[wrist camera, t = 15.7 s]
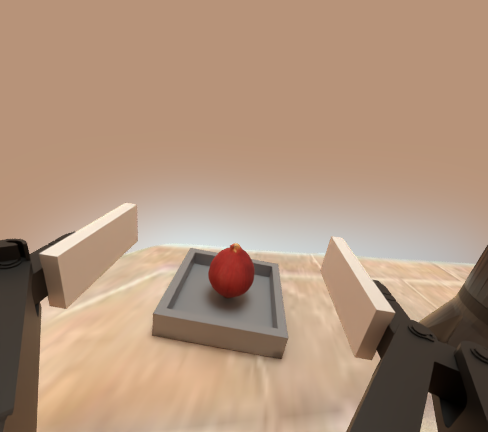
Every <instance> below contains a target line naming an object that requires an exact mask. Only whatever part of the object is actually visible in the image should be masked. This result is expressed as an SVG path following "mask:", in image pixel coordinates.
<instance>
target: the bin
mask: <svg viewBox="0 0 488 432" xmlns="http://www.w3.org/2000/svg"><path fill="white" fill-rule="evenodd" d="M217 254H218V253H215V252H210V251H204V250H199V249H193V248H190V250H189V252H188V253H187V255H186V257H185V259H184V260H183V262H182V264H181V266H180V267H179V269H178V271H177V273H176V274H175V276H174V278H173V280H172V281H171V283H170V285H169V287H168V288H167V290H166V292H165V294H164V295H163V297H162V299H161V301H160V303H159V304H158V306H157V308H156V310H155V311H154V313H153V330H152V335H153V336H159V337H164V338H170V339H175V340H181V341H186V342H192V343H197V344H203V345H208V346H214V347H219V348H225V349H230V350H236V351H241V352H247V353H252V354H258V355H263V356H269V357H274V358H280V359H282V356H283V353H284V349H285V346H286V343H287V340H288V333H287V326H286V319H285V311H284V304H283V297H282V290H281V282H280V275H279V268H278V264H275V263H269V262H264V261H258V260H253V259H251V260H252V262H253V264H254V269H255V270H254V281H253V283H252V285H251V287H250V288H249V290H248V291H247V292H245V293H244V294H242V295H240V296H237V297H232V298H225V297H224V296H222V295H220V294H219V293H218V292H217V291H215V290H214V289H213V288H212V285H211V283H210V281H209V277H208V272H209V268H210V264H211V262H212V260H213V259H214V257H215V256H216V255H217Z"/></svg>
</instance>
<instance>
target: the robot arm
mask: <svg viewBox="0 0 488 432" xmlns="http://www.w3.org/2000/svg"><path fill="white" fill-rule="evenodd" d="M137 241H138V231H137V205H136V204H130V203H124V204H123V205H121V206H119V207H118V208H116V209H114V210H112V211H111V212H109V213H107V214H106V215H104V216H102V217H101V218H99V219H97V220H95V221H94V222H92V223H90V224H89V225H87V226H85V227H84V228H82V229H80V230H78V231H77V232H72V233H68V234H65V235H63V236H61V237H59V238H58V239H56V240H55V241H52V242H51V243H49V244H48V245H46V246H44V247H42V248H40V249H38V250H37V251H35V252H33V253H31V254H29V250H28V246H27V243H26V241H24V240H21V239H6V240H0V432H36V428H37V403H38V379H39V354H40V330H41V304H40V301H41V300H43V299H44V298H45V297H46V296H48V300H49V305H50V306H53V307H59V308H64V309H67V308H68V307H69V306H70V305H71V304H72V303H73V302H74V301H75V300H76V299H77V298H78V297H79V296H80V295H81V294H82V293H83V292H85V291H86V290H87V289H88V288H89V287H90V286H91V285H92V284H93V283H94V282H95V281H96V280H97V279H98V278H99V277H100V276H101V275H102V274H103V273H104V272H106V271H107V270H108V269H109V268H110V267H111V266H112V265H113V264H114V263H115V262H116V261H117V260H118V259H119V258H120V257H121V256H122V255H123V254H124V253H125V252H126V251H127V250H129V249H130V248H131V247H132V246H133V245H134V244H135V243H136V242H137ZM320 271H321V274H322V276H323V279H324V281H325V284H326V286H327V289H328V291H329V294H330V296H331V299H332V301H333V304H334V306H335V309H336V311H337V314H338V317H339V319H340V322H341V324H342V327H343V329H344V332H345V334H346V337H347V339H348V342H349V344H350V347H351V349H352V352H353V354H354V357H356V358H362V359H368V360H372V359H373V357H374V355H375V353H376V351H377V352H378V354H379V356H380V358H381V360H380V362H379V364H378V366H377V368H376V370H375V371H374V373H373V375H372V378H371V381H370V383H369V385H368V387H367V389H366V391H365V393H364V395H363V397H362V400H361V402H360V404H359V406H358V408H357V410H356V412H355V414H354V416H353V418H352V421H351V423H350V425H349V427H348V429H347V431H346V432H420V428H421V423H422V418H423V413H424V409H425V404H426V399H427V394H428V392H429V393H431V394H432V400H433V405H434V411H435V417H436V423H437V428H438V432H488V245H487V247H486V248H485V250H484V252H483V253H482V255H481V257H480V258H479V260H478V262H477V263H476V265H475V266H474V268H473V270H472V271H471V273H470V275H469V276H468V278H467V279H466V281H465V283H464V284H463V286H462V288H461V289H460V291H459V292H458V294H457V295H456V296H455V297H454V298H453V299H452V300H450V301H449V302H447V303H446V304H444V305H443V306H441V307H440V308H438V309H437V310H435V311H434V312H432V313H431V314H429V315H428V316H427V317H425V318H424V319H422V320H421V321H420V322H419V323H418V322H416V321H414V320H410V318H409V317H408V316H407V314H406V313H405V312H404V310H403V309H402V308H401V306H400V305H399V304H398V302H396V300H395V298H394V297H393V296H391V293H390V292H389V291H388V289H387V288H386V287H385V286H384V285H383V284H381V283H380V282H379V281H377V280H372V279H371V277H370V276H369V275H368V273H367V272H366V270H365V269H364V267H363V266H362V265H361V263H360V262H359V260H358V259H357V258H356V256H355V255H354V253H353V252H352V251H351V249H350V248H349V246H348V245H347V243H346V242H345V241H344V239H343V238H339V237H333V236H332V237H331V239H330V242H329V245H328V248H327V252H326V255H325V258H324V261H323V264H322V267H321V270H320Z"/></svg>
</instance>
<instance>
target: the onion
mask: <svg viewBox="0 0 488 432" xmlns="http://www.w3.org/2000/svg"><path fill="white" fill-rule="evenodd" d="M254 270H255V269H254V264H253V262H252V260H251V258H250V257H249V255H248V254H247V252H245V251H244V250H243V249H242V248H241V247H240V245H239V244H237V243H236V244H235V243H234V244H232V245H231V246H230V248H226V249H224V250H222V251H221V252H219V253H218V254H217V255H216V256H215V257H214V259H213V260H212V262H211V264H210V268H209V272H208V277H209V281H210V283H211V285H212V288H213V289H214V290H215V291H217V292H218V293H219V294H220V295H222V296H224V297H225V298H232V297H237V296H240V295H242V294H244V293H245V292H247V291H248V290H249V288H250V287H251V285H252V283H253V281H254Z"/></svg>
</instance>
